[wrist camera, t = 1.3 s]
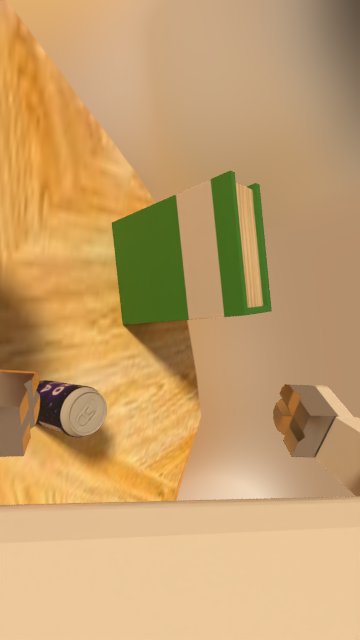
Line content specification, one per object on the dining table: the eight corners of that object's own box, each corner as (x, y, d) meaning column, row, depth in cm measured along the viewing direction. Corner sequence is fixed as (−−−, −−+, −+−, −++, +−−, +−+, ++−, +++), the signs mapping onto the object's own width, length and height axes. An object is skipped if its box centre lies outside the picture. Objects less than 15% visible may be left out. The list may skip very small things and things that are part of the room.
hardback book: (111, 222, 54) (230, 170, 38) (143, 228, 60) (259, 184, 44) (122, 324, 55) (244, 315, 39) (153, 320, 60) (271, 311, 44)
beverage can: (67, 399, 46) (117, 409, 38) (37, 431, 43) (86, 450, 35) (43, 371, 44) (91, 376, 36) (9, 403, 40) (54, 416, 32)
